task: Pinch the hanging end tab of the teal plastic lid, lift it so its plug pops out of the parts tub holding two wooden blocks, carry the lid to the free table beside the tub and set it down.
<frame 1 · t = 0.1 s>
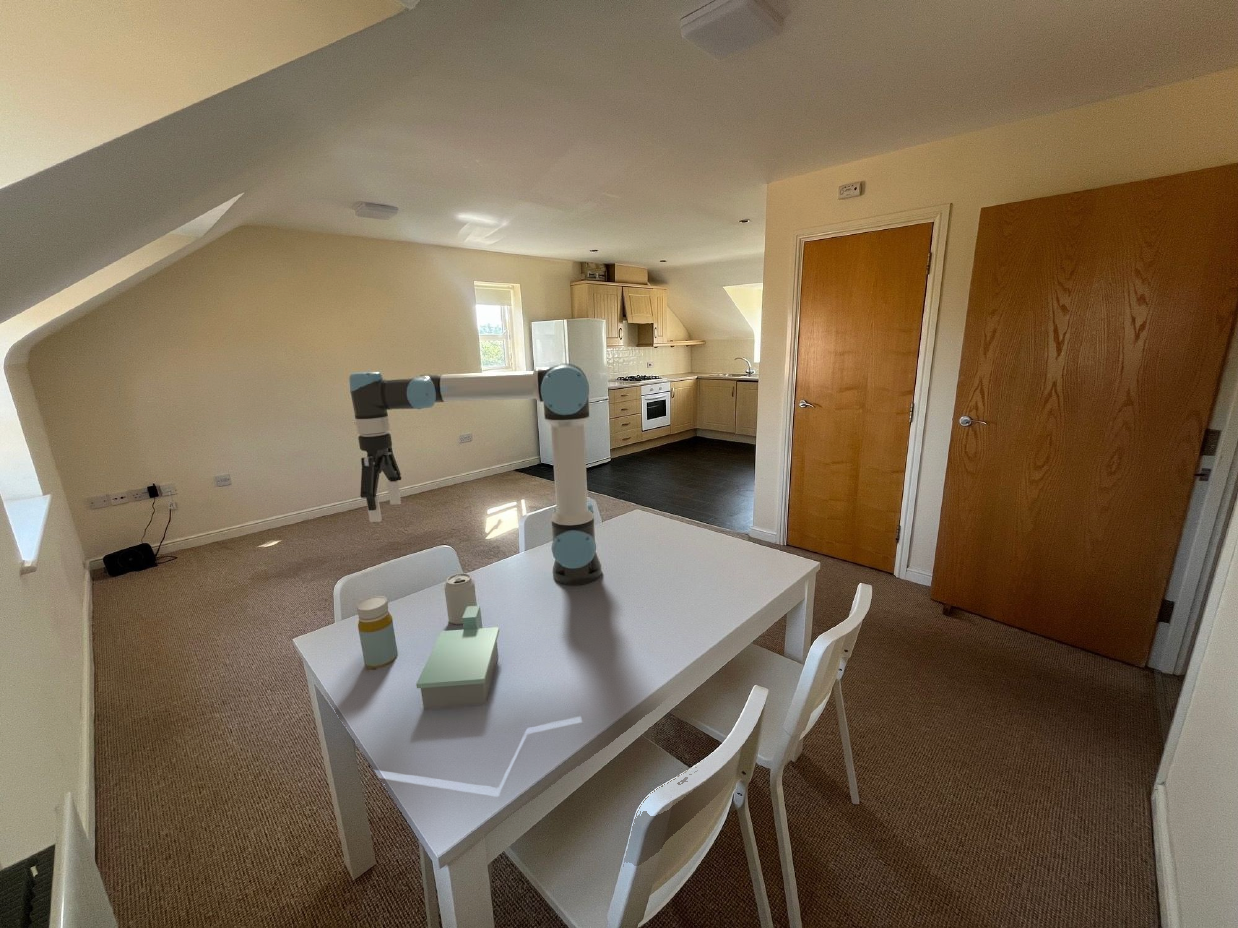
hand: (386, 512, 131), 28 cm above the table, fingers open, 13 cm apart
tub: (464, 682, 106), on the table
lid: (461, 658, 104), point 6 cm above the table, touching tub
can: (463, 619, 131), on the table
bottle: (382, 661, 114), on the table
block b: (448, 690, 103), point 1 cm above the table, touching tub
block a: (476, 669, 109), point 1 cm above the table, touching tub
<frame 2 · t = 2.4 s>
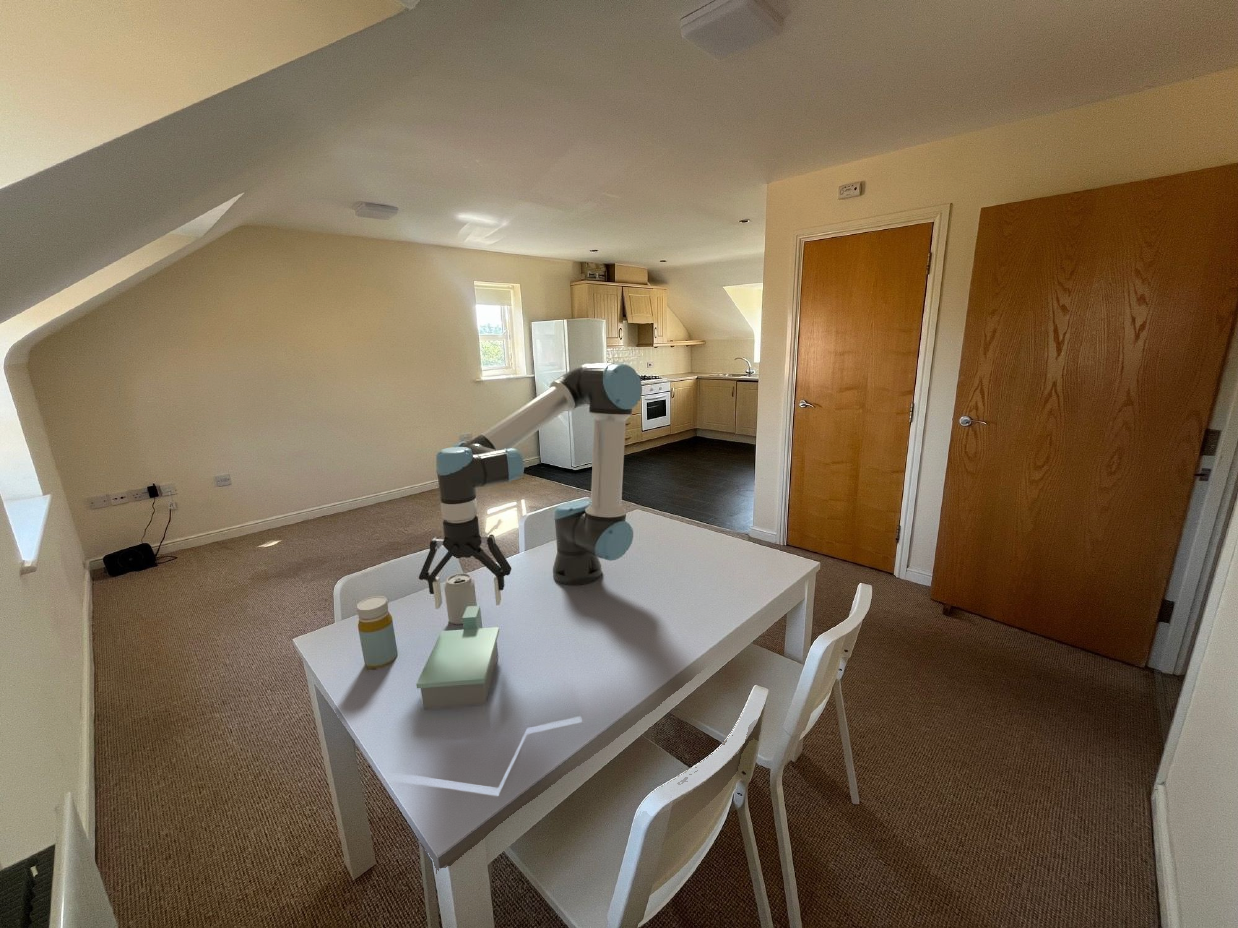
hand: (469, 604, 114), 12 cm above the table, fingers open, 13 cm apart
nothing on the table moved.
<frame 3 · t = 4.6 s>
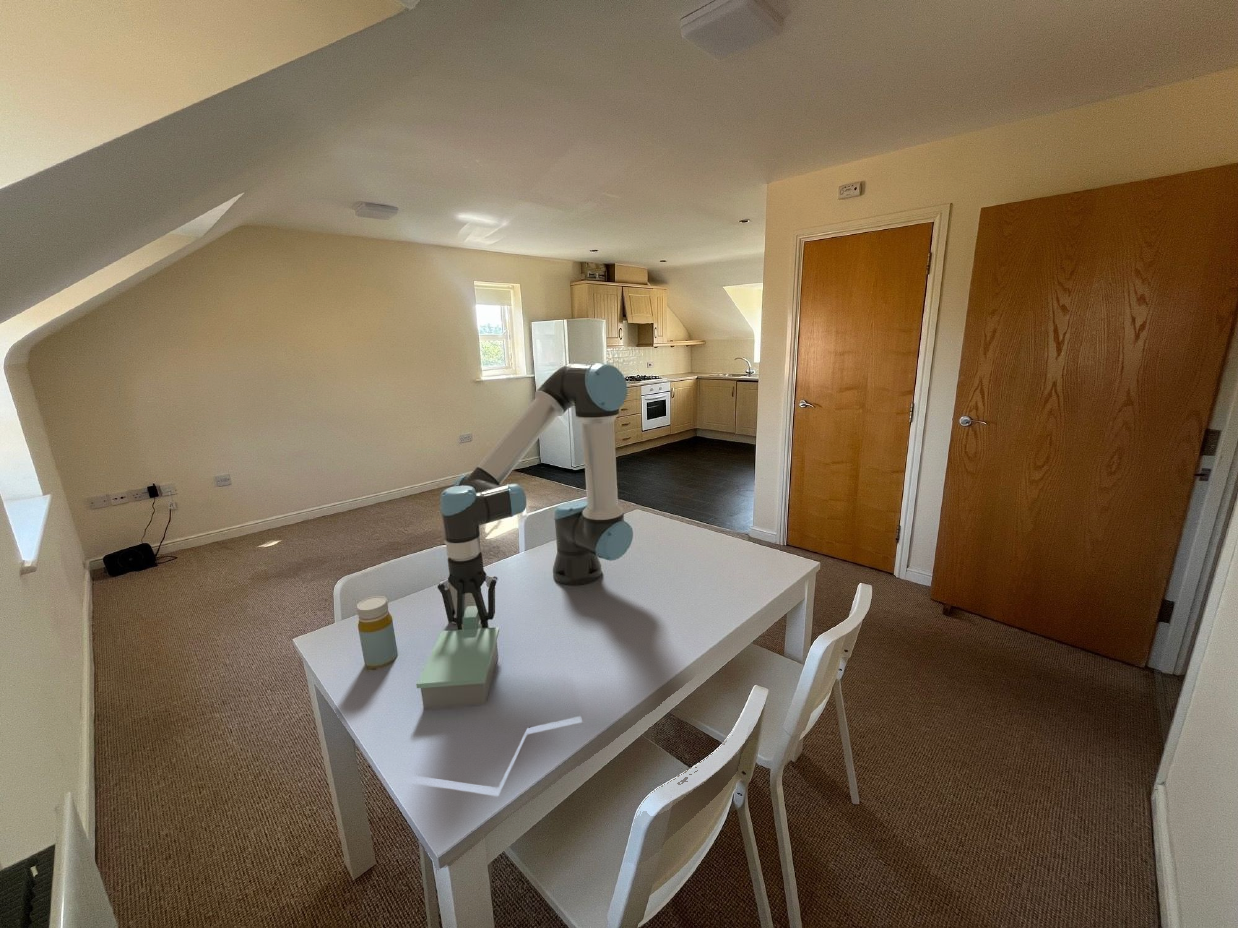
hand: (475, 645, 117), 1 cm above the table, fingers closed on lid, 3 cm apart
lid: (461, 658, 104), point 6 cm above the table, touching gripper, tub
everything else where it was.
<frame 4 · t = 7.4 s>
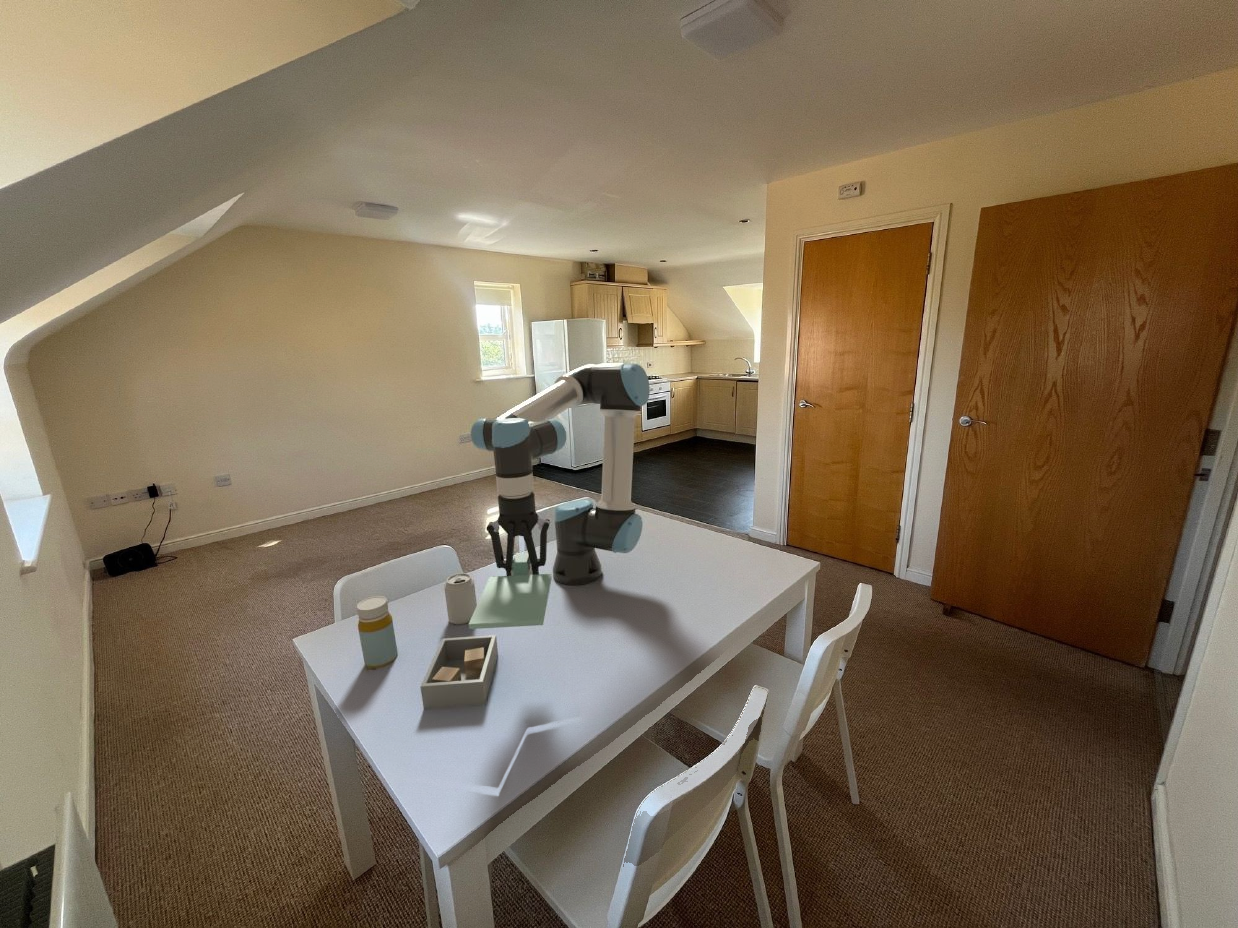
hand: (524, 594, 109), 17 cm above the table, fingers closed on lid, 3 cm apart
lid: (513, 602, 96), point 22 cm above the table, touching gripper
everything else where it was.
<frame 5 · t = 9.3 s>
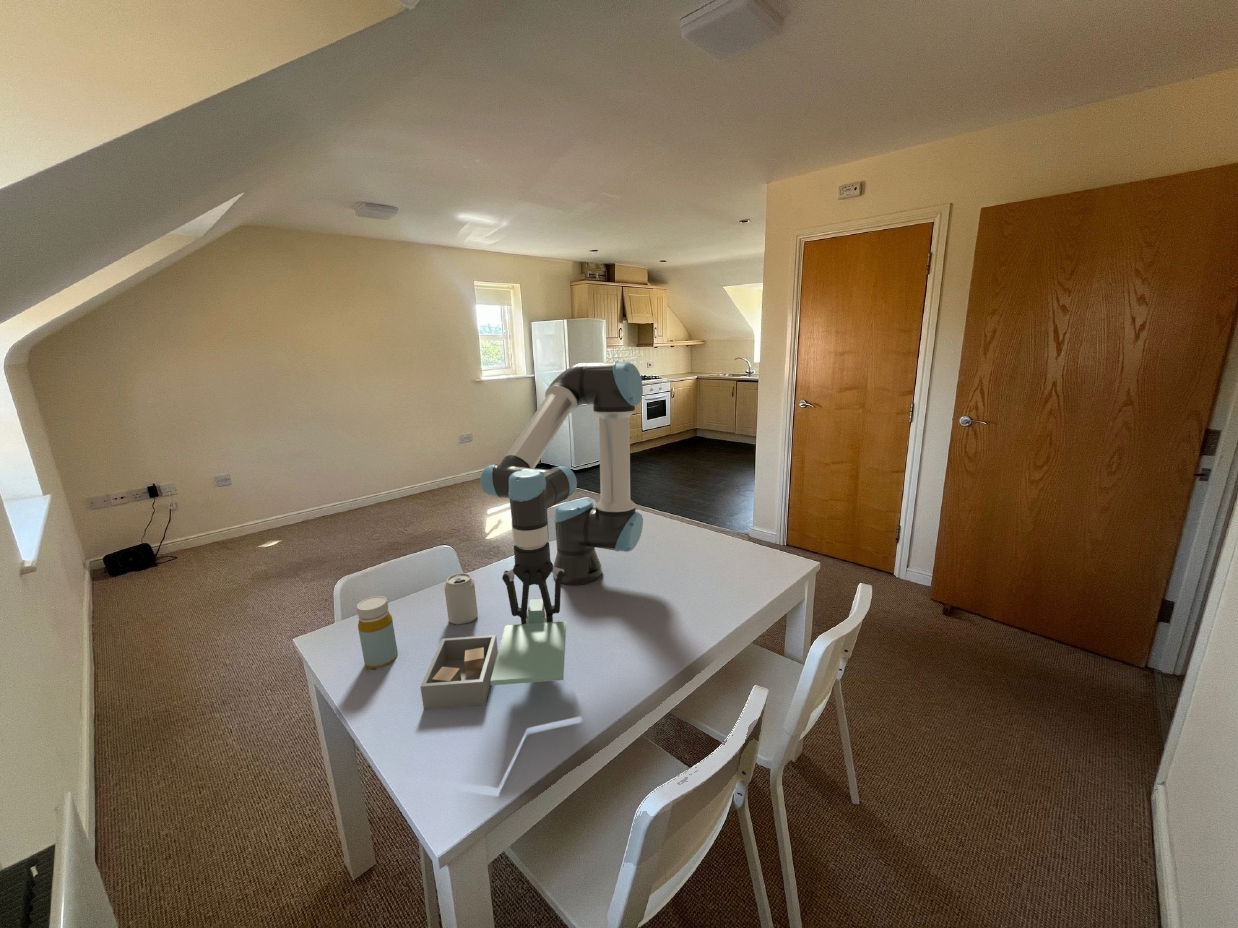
hand: (538, 640, 110), 6 cm above the table, fingers closed on lid, 3 cm apart
lid: (531, 654, 97), point 11 cm above the table, touching gripper
everything else where it was.
when the fingers open (2 cm above the table, at t = 10.6 s): lid drops 5 cm, point 2 cm above the table.
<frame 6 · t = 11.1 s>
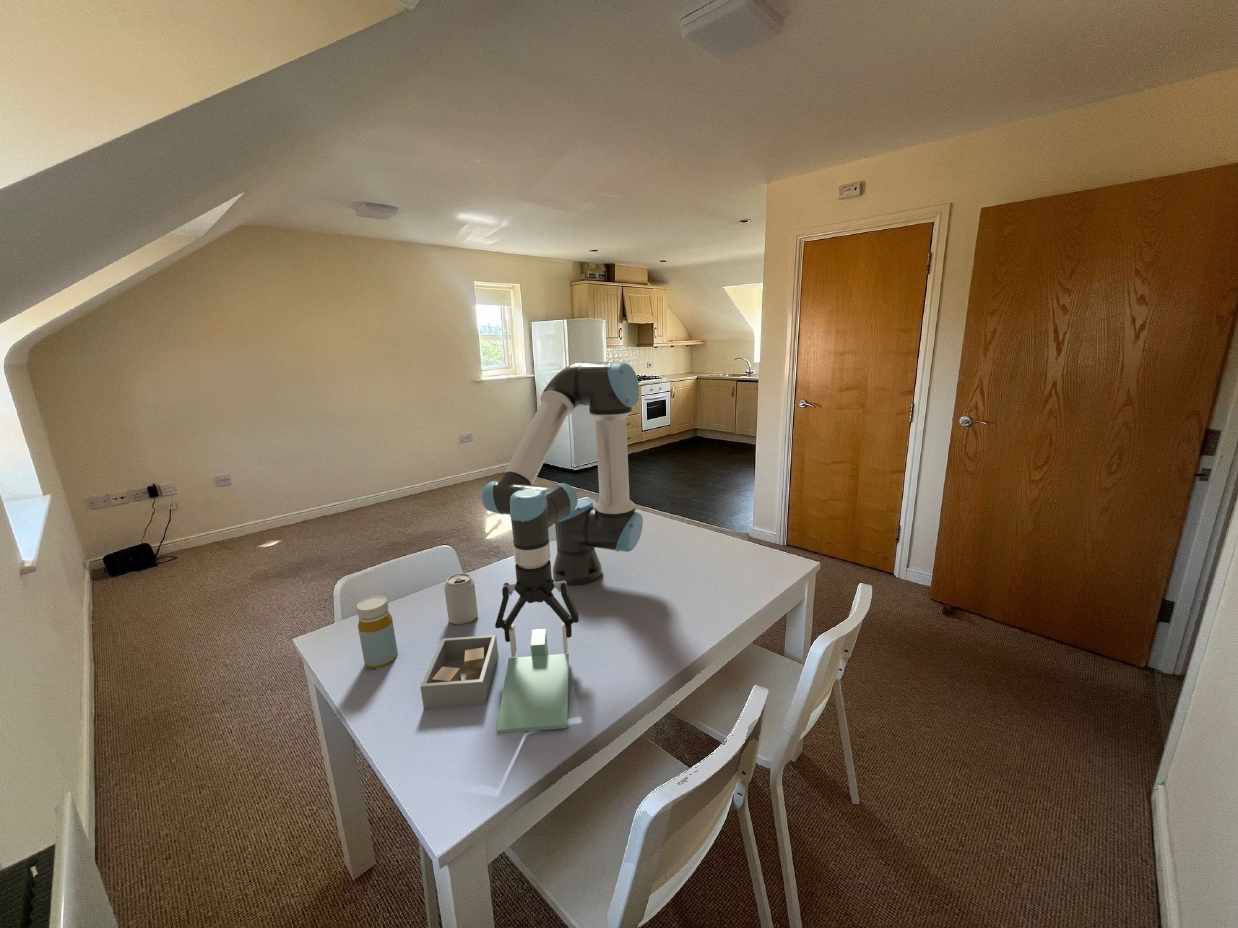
hand: (540, 651, 111), 3 cm above the table, fingers open, 11 cm apart
lid: (535, 693, 99), point 2 cm above the table, tilted 8°
everything else where it was.
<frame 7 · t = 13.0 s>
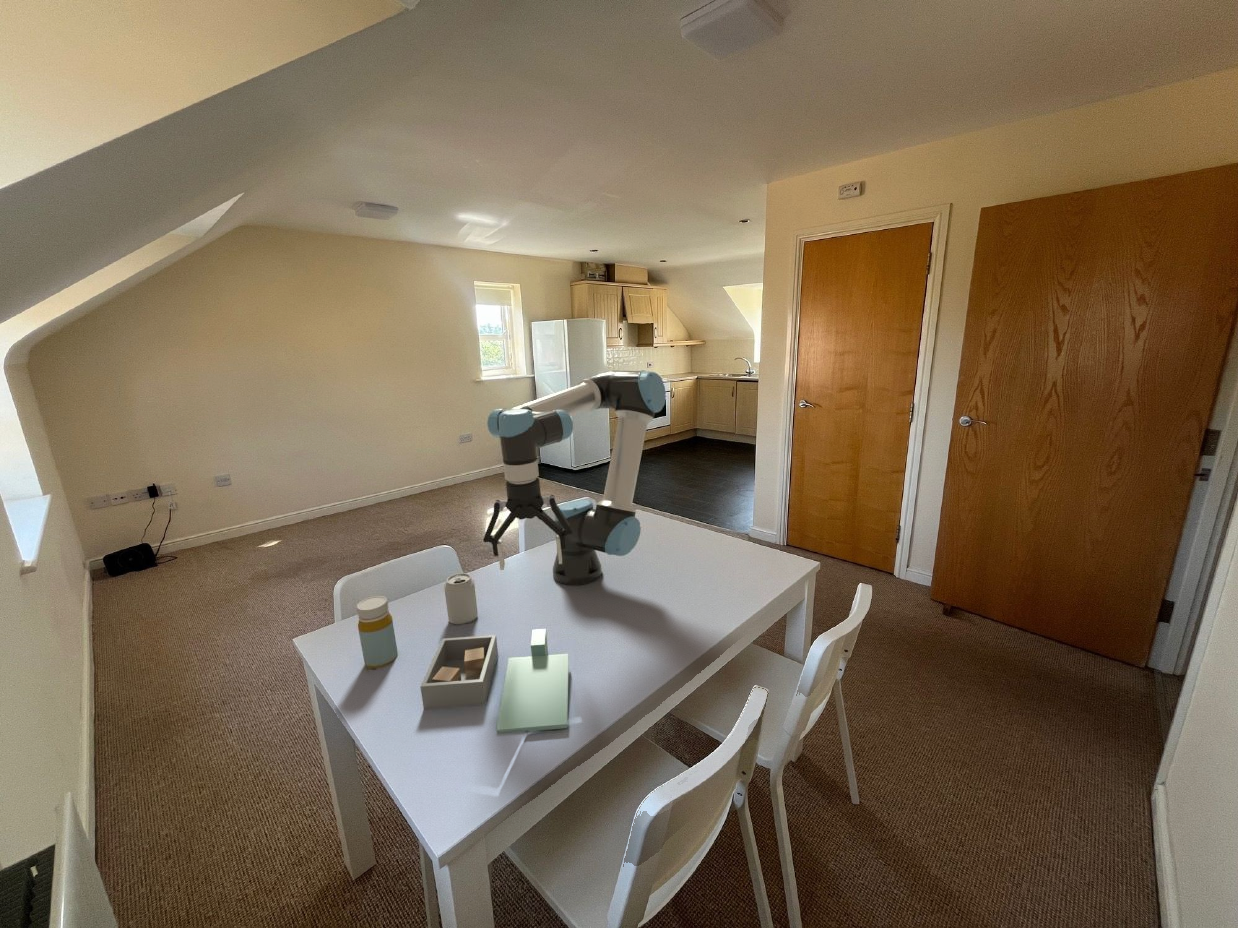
hand: (531, 564, 117), 19 cm above the table, fingers open, 13 cm apart
nothing on the table moved.
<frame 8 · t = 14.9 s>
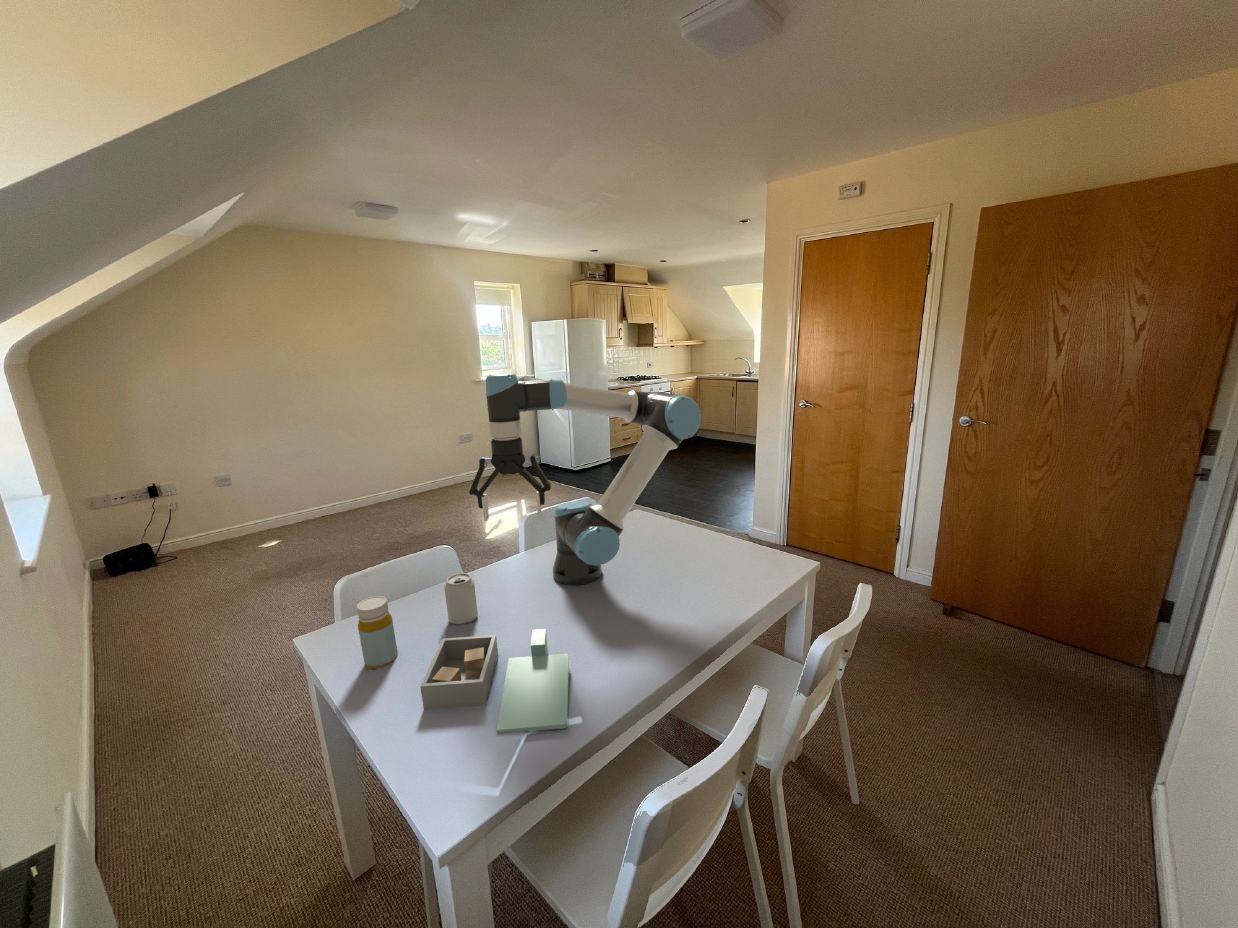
hand: (513, 518, 127), 27 cm above the table, fingers open, 13 cm apart
nothing on the table moved.
at the end: lid touching table; lid inside the target area (0.6 cm from its centre), point 1.6 cm above the table; the gripper is holding nothing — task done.
